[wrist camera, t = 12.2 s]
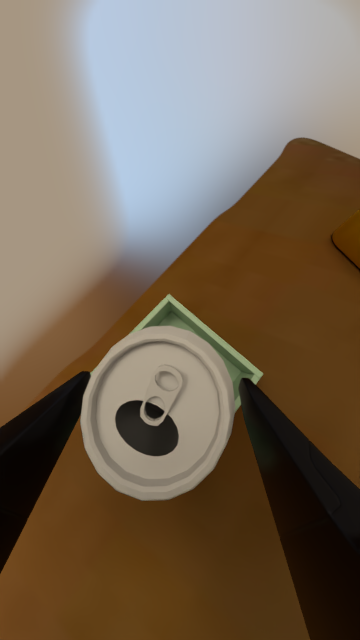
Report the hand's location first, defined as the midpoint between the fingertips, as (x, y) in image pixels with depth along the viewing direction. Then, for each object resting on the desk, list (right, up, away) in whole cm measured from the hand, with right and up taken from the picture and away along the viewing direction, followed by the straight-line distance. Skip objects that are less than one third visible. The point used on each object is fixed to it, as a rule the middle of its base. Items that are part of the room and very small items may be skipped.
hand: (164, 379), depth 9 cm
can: (0, -3, +9) cm, 9 cm away
